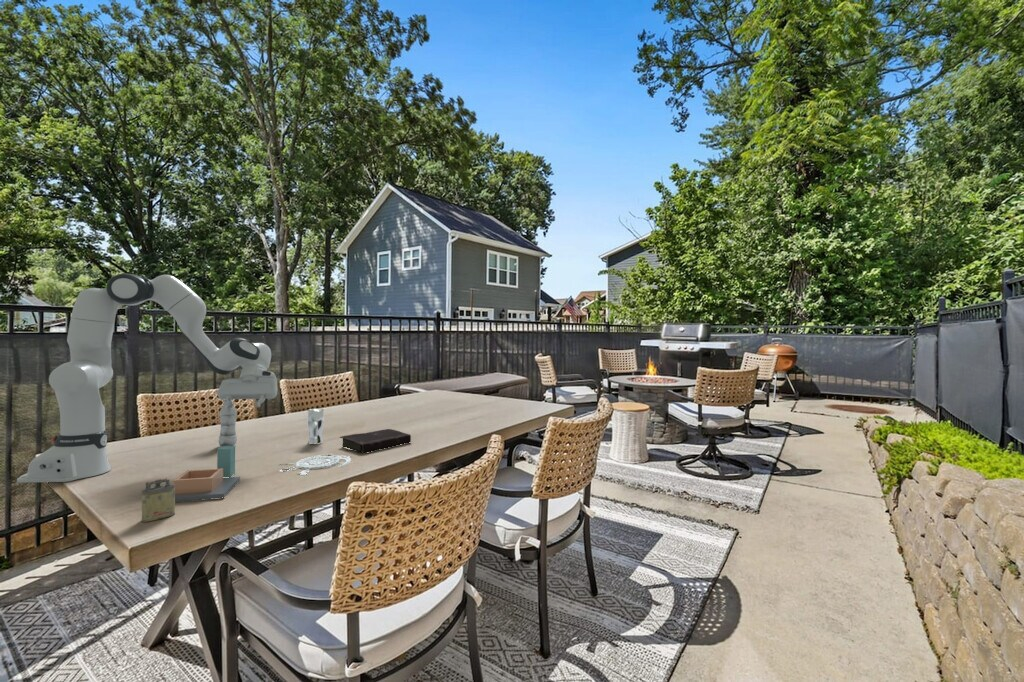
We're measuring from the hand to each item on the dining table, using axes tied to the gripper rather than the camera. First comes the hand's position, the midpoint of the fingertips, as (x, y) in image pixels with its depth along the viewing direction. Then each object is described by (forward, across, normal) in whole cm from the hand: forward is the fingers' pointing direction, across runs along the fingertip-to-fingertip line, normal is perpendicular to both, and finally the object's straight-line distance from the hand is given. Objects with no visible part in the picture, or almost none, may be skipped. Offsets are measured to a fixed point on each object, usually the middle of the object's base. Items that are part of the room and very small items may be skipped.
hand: (243, 406), depth 166 cm
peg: (+26, 0, +5) cm, 26 cm away
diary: (0, +46, +32) cm, 56 cm away
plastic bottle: (-4, -16, +35) cm, 39 cm away
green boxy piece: (+50, -3, -20) cm, 54 cm away
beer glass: (-5, +19, +36) cm, 41 cm away
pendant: (+18, +27, +14) cm, 35 cm away
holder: (+36, -2, -6) cm, 37 cm away
